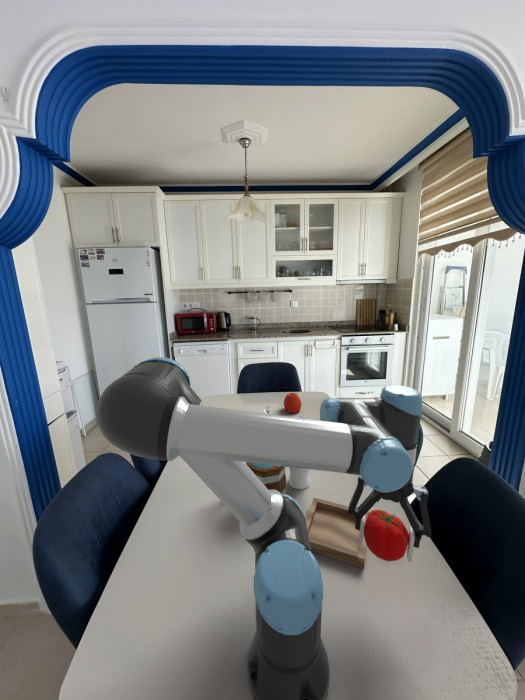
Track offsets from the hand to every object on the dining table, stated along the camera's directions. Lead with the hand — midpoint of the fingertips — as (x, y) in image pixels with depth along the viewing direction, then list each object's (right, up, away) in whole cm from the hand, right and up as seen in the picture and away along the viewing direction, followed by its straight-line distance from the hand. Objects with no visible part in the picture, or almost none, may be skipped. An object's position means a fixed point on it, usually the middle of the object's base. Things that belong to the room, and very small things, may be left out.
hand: (384, 548), depth 67 cm
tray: (-6, -8, +19) cm, 22 cm away
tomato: (0, 0, 0) cm, 1 cm away
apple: (-10, +10, +103) cm, 104 cm away
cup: (-14, -4, +42) cm, 44 cm away
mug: (-29, -6, +34) cm, 45 cm away
